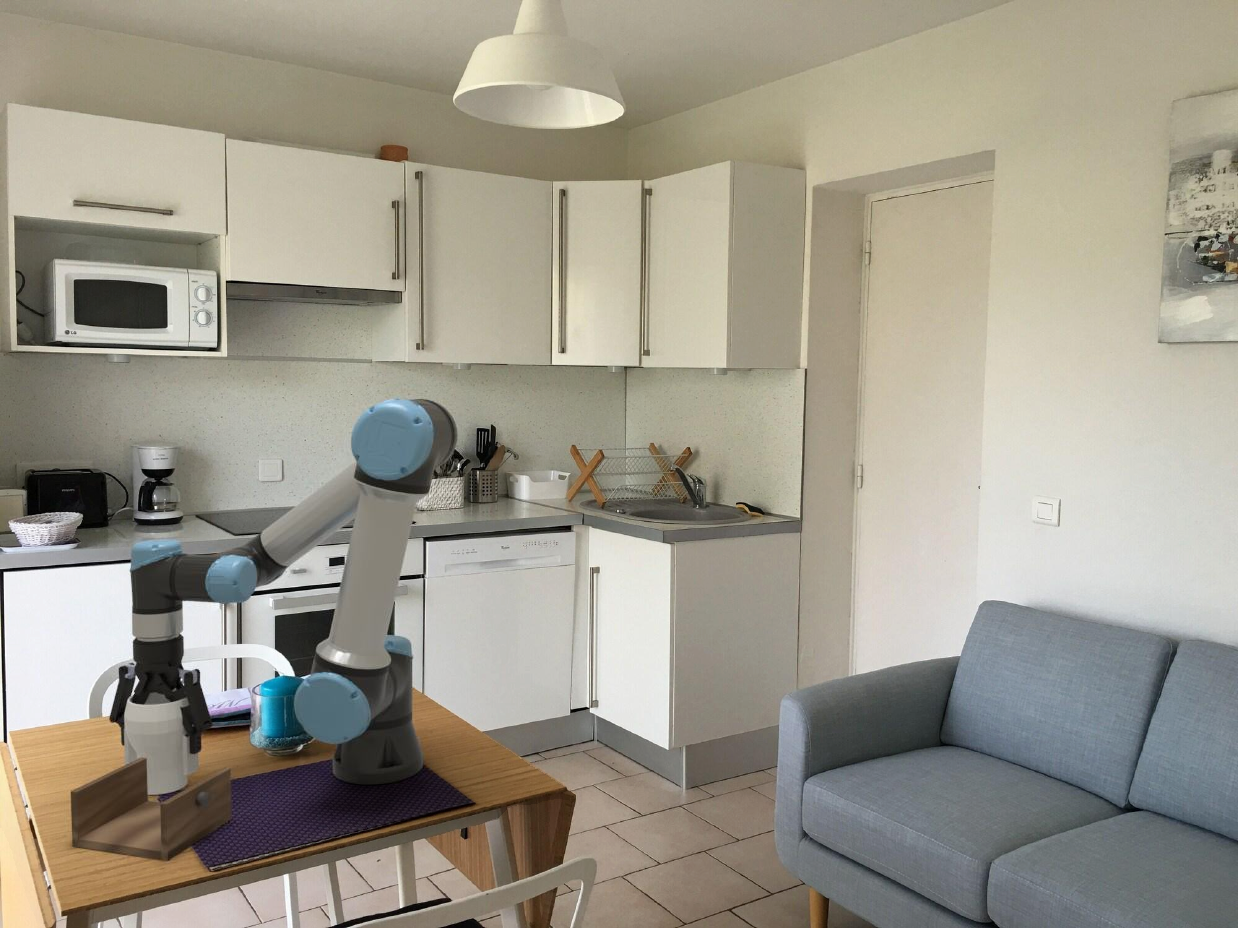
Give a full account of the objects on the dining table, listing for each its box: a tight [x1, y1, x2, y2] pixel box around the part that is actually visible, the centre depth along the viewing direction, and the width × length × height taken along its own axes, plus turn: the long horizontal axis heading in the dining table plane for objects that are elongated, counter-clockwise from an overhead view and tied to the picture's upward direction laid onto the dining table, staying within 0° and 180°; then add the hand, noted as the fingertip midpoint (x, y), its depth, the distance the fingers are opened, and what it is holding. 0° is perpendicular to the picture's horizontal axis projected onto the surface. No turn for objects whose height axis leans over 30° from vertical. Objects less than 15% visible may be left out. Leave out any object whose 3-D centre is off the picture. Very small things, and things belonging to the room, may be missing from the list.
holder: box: [70, 757, 233, 862], centre depth 149 cm, size 18×14×8 cm
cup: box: [124, 688, 189, 796], centre depth 166 cm, size 11×11×15 cm
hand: (161, 768), depth 167 cm, fingers closed on cup, 10 cm apart
